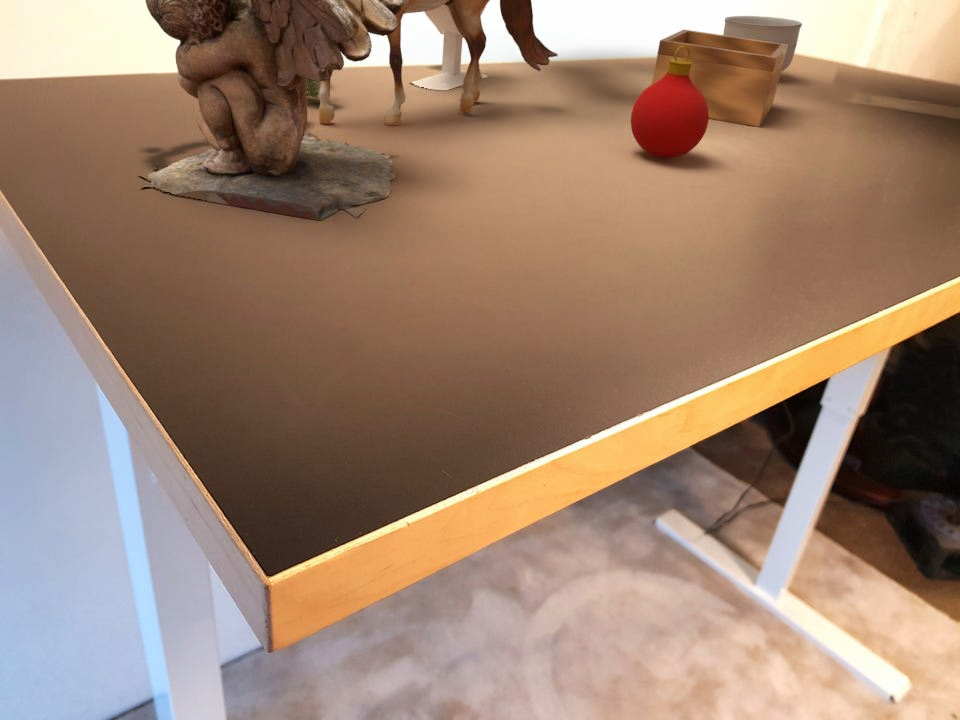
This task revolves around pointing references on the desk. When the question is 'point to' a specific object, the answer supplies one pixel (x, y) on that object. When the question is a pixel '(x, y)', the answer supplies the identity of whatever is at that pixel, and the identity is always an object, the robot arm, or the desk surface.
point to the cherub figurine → (271, 102)
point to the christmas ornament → (670, 113)
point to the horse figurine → (465, 12)
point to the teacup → (765, 31)
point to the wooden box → (727, 72)
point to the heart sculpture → (446, 52)
